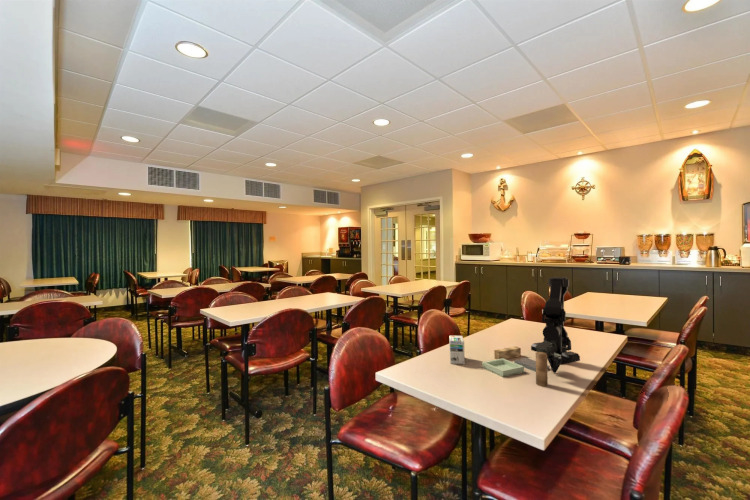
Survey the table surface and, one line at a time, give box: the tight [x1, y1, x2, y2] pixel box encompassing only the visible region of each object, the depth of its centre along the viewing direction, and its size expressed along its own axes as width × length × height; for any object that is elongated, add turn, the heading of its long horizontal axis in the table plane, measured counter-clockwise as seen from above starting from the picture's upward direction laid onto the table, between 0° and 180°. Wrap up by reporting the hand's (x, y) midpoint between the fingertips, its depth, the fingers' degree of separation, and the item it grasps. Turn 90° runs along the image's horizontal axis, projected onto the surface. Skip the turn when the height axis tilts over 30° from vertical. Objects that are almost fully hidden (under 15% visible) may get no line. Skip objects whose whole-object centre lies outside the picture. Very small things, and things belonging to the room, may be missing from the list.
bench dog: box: [493, 346, 522, 360], centre depth 159 cm, size 14×3×4 cm, turn 114°
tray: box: [482, 358, 525, 378], centre depth 143 cm, size 12×12×2 cm
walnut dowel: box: [535, 351, 549, 388], centre depth 127 cm, size 4×4×12 cm
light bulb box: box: [448, 334, 466, 365], centre depth 156 cm, size 11×7×11 cm, turn 168°
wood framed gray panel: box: [513, 357, 551, 373], centre depth 147 cm, size 8×12×2 cm, turn 24°
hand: (554, 372), depth 136 cm, fingers closed
